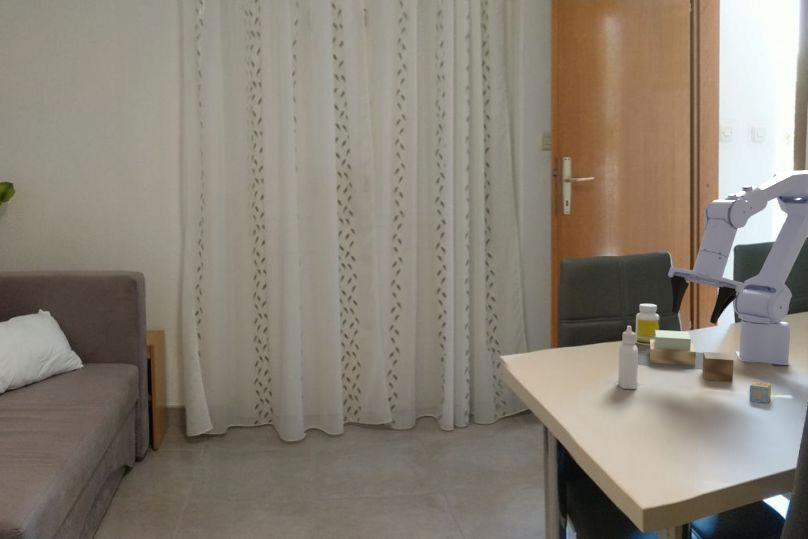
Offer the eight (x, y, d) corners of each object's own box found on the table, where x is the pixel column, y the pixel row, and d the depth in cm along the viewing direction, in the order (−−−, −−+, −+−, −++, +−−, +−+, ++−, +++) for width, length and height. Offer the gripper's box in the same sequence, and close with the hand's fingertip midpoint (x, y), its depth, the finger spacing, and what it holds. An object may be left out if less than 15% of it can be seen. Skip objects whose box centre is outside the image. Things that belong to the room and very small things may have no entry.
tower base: (691, 354, 150) (692, 341, 149) (695, 365, 141) (695, 351, 141) (649, 352, 153) (650, 339, 152) (650, 362, 144) (650, 349, 144)
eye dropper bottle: (643, 384, 131) (645, 325, 129) (633, 391, 127) (635, 330, 125) (622, 380, 134) (623, 322, 132) (611, 387, 130) (612, 327, 128)
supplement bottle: (661, 346, 159) (663, 306, 158) (639, 347, 159) (640, 307, 158) (653, 341, 164) (655, 302, 163) (632, 341, 164) (633, 303, 163)
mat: (707, 355, 151) (707, 353, 151) (714, 372, 138) (714, 370, 138) (633, 350, 156) (633, 348, 156) (633, 366, 143) (633, 364, 143)
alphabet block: (748, 400, 121) (749, 384, 120) (752, 396, 123) (752, 380, 123) (767, 404, 119) (768, 387, 118) (770, 399, 121) (771, 383, 121)
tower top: (688, 342, 149) (688, 331, 148) (690, 350, 142) (690, 339, 142) (654, 340, 151) (655, 330, 151) (655, 348, 144) (656, 337, 144)
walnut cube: (729, 377, 135) (730, 353, 134) (732, 384, 130) (733, 360, 129) (702, 375, 136) (703, 351, 136) (704, 382, 132) (705, 358, 131)
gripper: (672, 243, 138) (652, 305, 137) (747, 257, 128) (726, 324, 128) (681, 252, 143) (662, 311, 142) (753, 266, 134) (733, 330, 133)
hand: (693, 317), depth 135 cm, fingers open, 7 cm apart
